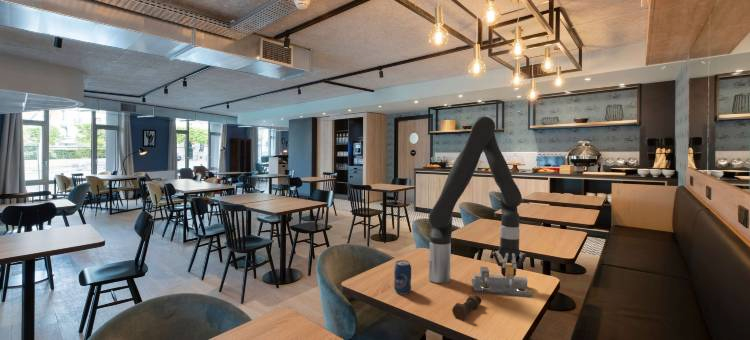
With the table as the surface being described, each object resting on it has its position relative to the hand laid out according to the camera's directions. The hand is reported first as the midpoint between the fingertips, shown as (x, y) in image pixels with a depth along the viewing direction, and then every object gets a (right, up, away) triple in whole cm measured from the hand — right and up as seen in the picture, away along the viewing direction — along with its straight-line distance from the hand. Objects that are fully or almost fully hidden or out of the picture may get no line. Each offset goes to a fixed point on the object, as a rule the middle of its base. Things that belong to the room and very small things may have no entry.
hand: (508, 275), depth 144 cm
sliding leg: (0, -3, -1) cm, 3 cm away
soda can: (-45, -5, -4) cm, 46 cm away
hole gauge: (-4, -5, -2) cm, 7 cm away
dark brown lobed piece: (-23, -7, -21) cm, 32 cm away
